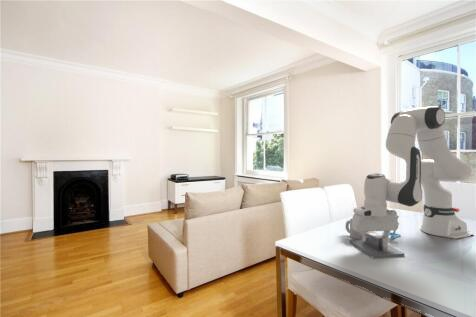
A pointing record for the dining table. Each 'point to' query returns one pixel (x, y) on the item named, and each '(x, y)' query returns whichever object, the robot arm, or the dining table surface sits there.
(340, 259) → the dining table surface
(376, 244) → the block
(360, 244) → the grey peg base
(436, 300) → the dining table surface
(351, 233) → the cup
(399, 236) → the chair
